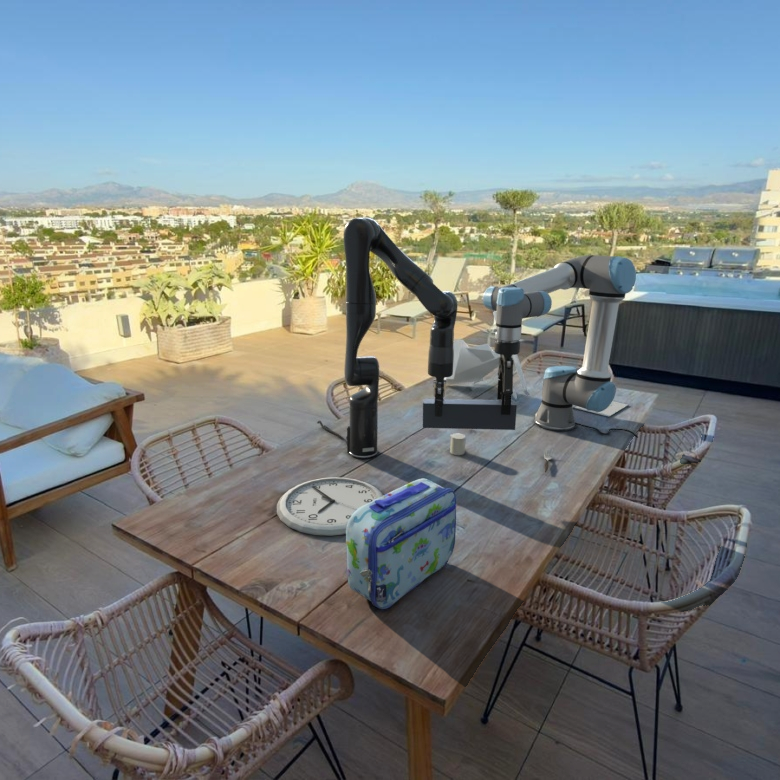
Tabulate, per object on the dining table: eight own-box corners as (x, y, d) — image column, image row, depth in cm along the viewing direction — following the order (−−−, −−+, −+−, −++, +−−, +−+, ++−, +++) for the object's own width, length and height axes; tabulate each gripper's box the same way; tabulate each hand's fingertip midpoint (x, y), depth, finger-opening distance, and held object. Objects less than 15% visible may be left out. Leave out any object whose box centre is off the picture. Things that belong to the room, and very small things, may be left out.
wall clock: (392, 527, 129) (268, 531, 127) (391, 533, 130) (269, 537, 127) (383, 473, 158) (282, 475, 155) (383, 478, 158) (282, 480, 156)
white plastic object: (461, 429, 252) (437, 405, 227) (444, 352, 274) (420, 323, 250) (535, 404, 240) (518, 377, 215) (510, 326, 262) (492, 293, 237)
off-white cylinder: (464, 449, 180) (465, 433, 178) (464, 455, 175) (465, 439, 174) (450, 448, 181) (450, 432, 179) (449, 454, 176) (450, 438, 174)
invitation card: (608, 416, 214) (573, 407, 224) (608, 416, 214) (573, 408, 224) (628, 404, 229) (594, 396, 238) (628, 405, 229) (594, 397, 238)
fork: (540, 473, 163) (541, 467, 163) (544, 453, 178) (545, 448, 177) (549, 474, 162) (550, 468, 162) (552, 454, 177) (553, 449, 176)
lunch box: (375, 622, 100) (376, 527, 94) (339, 595, 108) (338, 505, 101) (459, 565, 118) (465, 481, 112) (424, 545, 125) (427, 465, 119)
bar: (513, 424, 163) (514, 400, 160) (515, 430, 158) (516, 405, 156) (423, 422, 165) (423, 398, 163) (422, 427, 161) (422, 403, 158)
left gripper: (429, 353, 163) (427, 405, 168) (427, 365, 150) (425, 420, 155) (453, 354, 163) (450, 406, 168) (453, 366, 149) (450, 422, 154)
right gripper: (491, 331, 169) (488, 393, 175) (498, 349, 145) (494, 420, 152) (515, 331, 168) (511, 394, 175) (526, 350, 145) (520, 421, 151)
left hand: (438, 413), depth 161 cm, fingers closed on bar, 4 cm apart
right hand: (503, 406), depth 163 cm, fingers open, 13 cm apart
